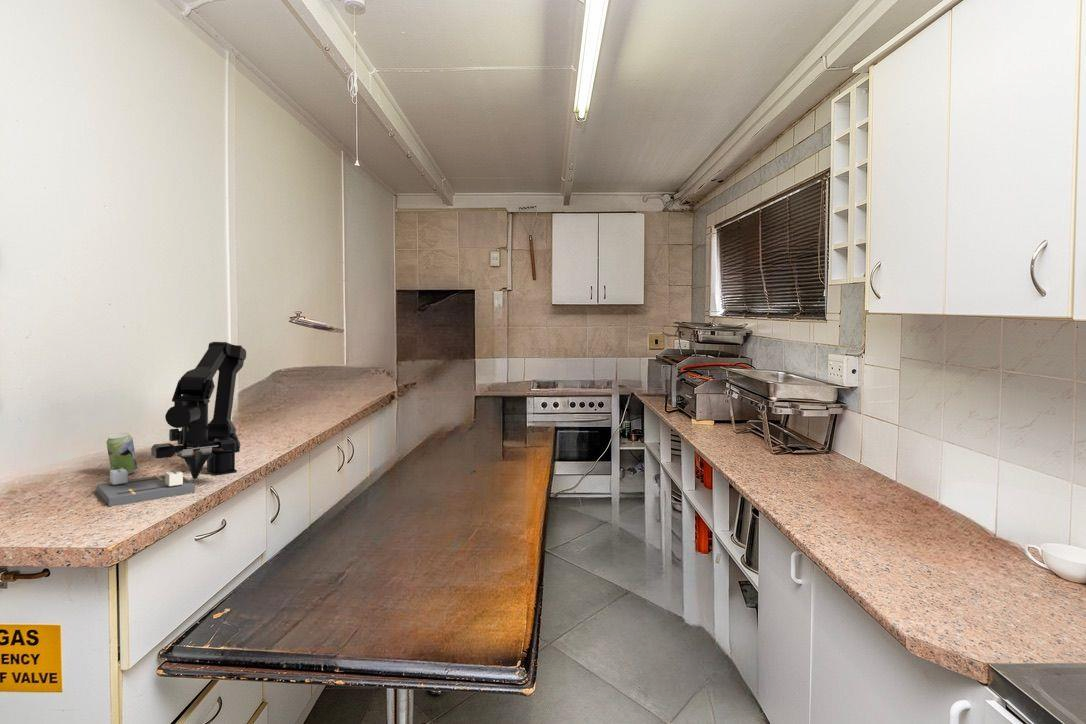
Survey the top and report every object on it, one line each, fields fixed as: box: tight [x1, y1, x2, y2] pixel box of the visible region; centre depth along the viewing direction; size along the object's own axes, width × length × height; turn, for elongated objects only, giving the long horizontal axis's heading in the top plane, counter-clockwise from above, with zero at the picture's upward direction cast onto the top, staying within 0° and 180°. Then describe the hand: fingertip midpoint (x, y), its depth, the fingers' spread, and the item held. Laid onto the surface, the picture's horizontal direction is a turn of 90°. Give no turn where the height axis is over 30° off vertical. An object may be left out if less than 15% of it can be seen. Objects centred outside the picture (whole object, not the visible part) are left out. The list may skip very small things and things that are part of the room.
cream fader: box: [164, 469, 184, 486], centre depth 142 cm, size 3×4×3 cm
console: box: [96, 474, 196, 508], centre depth 142 cm, size 18×16×2 cm
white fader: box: [109, 469, 128, 485], centre depth 142 cm, size 3×4×3 cm
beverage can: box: [105, 432, 138, 475], centre depth 157 cm, size 6×7×12 cm
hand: (194, 478), depth 146 cm, fingers closed
